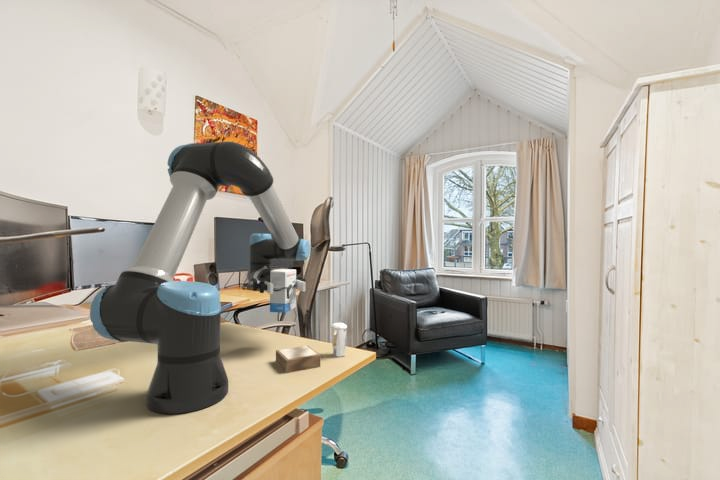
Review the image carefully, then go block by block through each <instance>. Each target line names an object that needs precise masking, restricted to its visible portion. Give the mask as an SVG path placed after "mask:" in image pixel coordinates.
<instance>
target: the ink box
mask: <svg viewBox="0 0 720 480" xmlns="http://www.w3.org/2000/svg"><path fill="white" fill-rule="evenodd" d="M296 278H297V269H292V268H280V269H273V271H271V272H270V283H272V284H273V294H269V312H270V313H281V314H282V313H283V314H285V313H288V312H290V311H291V310H293V309H296V307H297V303H296V300H297V289H296Z"/></svg>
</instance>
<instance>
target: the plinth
mask: <svg viewBox="0 0 720 480" xmlns="http://www.w3.org/2000/svg"><path fill="white" fill-rule="evenodd" d="M275 362H276V363H277V365H278V366H279V367H280V368H281V370H283V371H284V372H285V373H286V374H289V373H294V372H299V371H304V370H308V369H309V370H310V369H314V368H320V367H321V354H320V353H319V352H317V351H316V350H314V348H312V347H310V345H303V346H296V347H290V348H284V349H283V348H282V349H277V350H275Z"/></svg>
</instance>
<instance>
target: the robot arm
mask: <svg viewBox="0 0 720 480" xmlns="http://www.w3.org/2000/svg"><path fill="white" fill-rule="evenodd" d="M167 166H168V168H167V172H168V176H169V182H170V184H171V185H172V188H171V190H170V192H169V193H168V196H167V198H166V200H165V201H164V204H163V205H162V208H161V210H160V212H159V214H158V215H157V218H156V220H155V222H154V224H153V226H152V228H151V229H150V232H149V234H148V236H147V238H146V240H145V242H144V244H143V246H142V248H141V250H140V252H139V254H138V257H137V258H136V260H135V262H134V264H133V265H132V267H130V268H127V269H125V270H122V271H121V273H120V275H119V277H118V278H117V281H116V282H115V284H110V285H108V286H107V287H105V288H102V289H100V290H99V291H98V292H97V294H95V296H94V298H93V300H92V301H91V304H90V307H89V308H90V309H89V320H90V322H91V323H92V327H93V329H94V331H95V332H97V334H98V335H100V336H101V337H103V338H105V339H107V340H112V341H113V340H114V341H117V342H121V343H124V342H127V343H128V342H131V343H132V342H133V343H141V344H142V343H143V344H153V345H154V344H155V345H157V363H156V364H157V365H156V367H155V369H154V372H153V375H152V378H151V379H150V380H151V381H150V384H149V386H148V388H147V389H148V390H147V391H146V392H147V393H146V406H147V408H148V409H149V410H150V411H152V412H154V413H159V414H165V415H167V414H172V415H174V414H175V415H176V414H183V413H184V414H185V413H190V412H194V411H198V410H202V409H205V408H208V407H211V406H213V405H214V404H217V403H219V402H220V401H222V400H223V399H224V398H225V397H226V396H227V395H228V394H229V377H228V375H227V372H226V369H225V366H224V363H223V360H222V357H221V311H222V305H221V295H220V294H221V293H220V291H219V289H218V288H217V287H216V286H215V285H212V284H209V283H206V282H201V281H186V280H174V278H175V276H176V273H177V271H178V268H179V266H180V263H181V262H182V259H183V257H184V254H185V252H186V250H187V248H188V245H189V243H190V240H191V238H192V235H193V234H194V230H195V229H196V226H197V224H198V221H199V219H200V216H201V215H202V212H203V209H204V207H205V205H206V203H207V201H209V200H212V199H214V198H215V196H216V194H217V192H218V190H219V187H225V186H226V187H228V186H234V187H236V188H239V190H240V191H241V193H242V195H244V196H246V197H248V198H249V199H250V201H251V203H252V204H253V206H254V208H255V209H256V211H257V213H258V214H259V217H260V218H261V219H262V221H263V223H264V224H265V226H266V227H267V229H268V231H269V233H252V234H250V237H249V265H248V266H249V268H248V270H247V273H246V277H247V280H248V282H249V284H250V287H252V291H254V292H256V291H258V289H259V293H260V294H264V293H265V292H266V293H268V294H269V295H270V294H273V284H272V283H270V272H271V271H273V270H274V269H272V261H273V260H274V261H275V260H276V261H277V260H278V261H296V262H298V261H307V260H308V259H309V257H310V253H311V245H310V241H309V240H307V238H306V239H303V238H300V237H299V236H298V233H297V231H296V230H295V228H294V226H293V224H292V222H291V220H290V217H289V216H288V214H287V212H286V209H285V208H284V205H283V204H282V201H281V200H280V197H279V195H278V193H277V192H276V189H275V187H274V182H275V181H274V178H273V175H272V172H270V169H269V167H268V166H267V165H266V164H265V163H264V161H263V160H262V159H261V158H260V157H259V156H258V155H257V154H256V153H254V152H253V151H252V150H251V149H250V148H248V147H246V146H245V145H243V144H240V143H238V142H234V141H219V142H190V143H186V144H181V145H178V146H177V147H175V148H174V149H173V150H172V151H171V152H170V154H169V156H168V159H167ZM306 283H307V282H306V278H302V277H296V290H298V291H300V292H306V289H307V287H306V286H307V285H306Z"/></svg>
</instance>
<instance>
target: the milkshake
mask: <svg viewBox="0 0 720 480" xmlns="http://www.w3.org/2000/svg"><path fill="white" fill-rule="evenodd" d="M349 324H350V322H348V323H347V324H345V323H344V322H334V323H332V325H331V326H330V330H331V343H332V355H333V357H336V358H341V357H344V356H345V355H346V341H347V330H348V326H349Z"/></svg>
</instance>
